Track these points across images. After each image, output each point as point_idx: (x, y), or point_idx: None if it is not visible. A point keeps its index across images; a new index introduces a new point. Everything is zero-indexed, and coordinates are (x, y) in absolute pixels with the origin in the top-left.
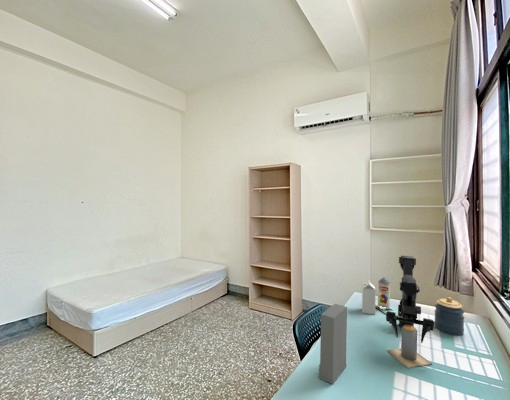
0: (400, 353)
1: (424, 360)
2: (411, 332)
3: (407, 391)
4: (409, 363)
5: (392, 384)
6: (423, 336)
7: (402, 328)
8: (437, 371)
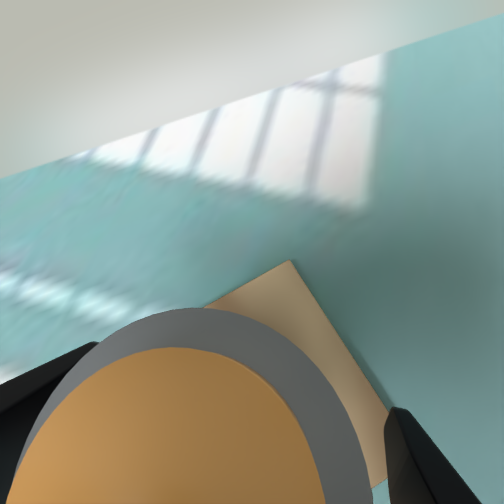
0: None
1: None
2: (188, 310)
3: (321, 90)
4: (269, 298)
5: (381, 107)
6: (7, 387)
7: (354, 478)
8: (122, 289)
